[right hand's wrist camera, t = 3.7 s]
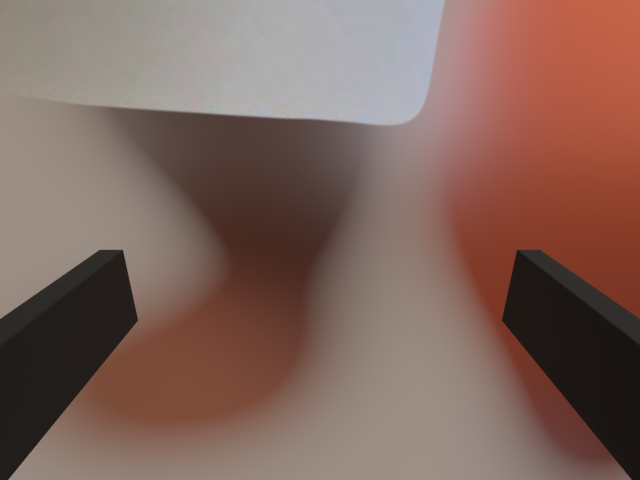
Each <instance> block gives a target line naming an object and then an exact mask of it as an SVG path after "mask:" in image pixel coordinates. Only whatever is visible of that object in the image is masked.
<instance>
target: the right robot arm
mask: <svg viewBox="0 0 640 480" xmlns="http://www.w3.org/2000/svg"><path fill="white" fill-rule="evenodd" d="M137 321H138V318H137V314H136V309H135V304H134V300H133V295H132V290H131V286H130V281H129V276H128V272H127V267H126V262H125V258H124V253H123V250H99V251H98V252H96V253H95V254H93V255H92V256H90V257H89V258H88V259H86V260H85V261H83V262H82V263H80V264H79V265H77V266H76V267H75V268H73V269H72V270H70V271H69V272H67V273H66V274H65V275H63V276H62V277H60V278H59V279H57V280H56V281H54V282H53V283H52V284H50V285H49V286H47V287H46V288H44V289H43V290H41V291H40V292H39V293H37V294H36V295H34V296H33V297H31V298H30V299H29V300H27V301H26V302H24V303H23V304H21V305H20V306H18V307H17V308H16V309H14V310H13V311H11V312H10V313H8V314H7V315H5V316H4V317H3V318H1V319H0V480H8V479H9V478H10V477H11V476H12V474H13V473H14V472H15V471H16V469H17V468H18V467H19V466H20V464H21V463H22V462H23V461H24V460H25V458H26V457H27V456H28V455H29V453H30V452H31V451H32V450H33V449H34V447H35V446H36V445H37V444H38V442H39V441H40V440H41V439H42V437H43V436H44V435H45V434H46V433H47V431H48V430H49V429H50V428H51V426H52V425H53V424H54V423H55V422H56V420H57V419H58V418H59V417H60V415H61V414H62V413H63V412H64V411H65V409H66V408H67V407H68V406H69V404H70V403H71V402H72V401H73V399H74V398H75V397H76V396H77V395H78V393H79V392H80V391H81V390H82V388H83V387H84V386H85V385H86V384H87V382H88V381H89V380H90V379H91V377H92V376H93V375H94V374H95V372H96V371H97V370H98V369H99V368H100V366H101V365H102V364H103V363H104V361H105V360H106V359H107V358H108V356H109V355H110V354H111V353H112V352H113V350H114V349H115V348H116V347H117V345H118V344H119V343H120V342H121V341H122V339H123V338H124V337H125V336H126V334H127V333H128V332H129V331H130V330H131V328H132V327H133V326H134V325H135V323H136V322H137ZM502 321H503V322H504V323H505V325H506V326H507V327H508V328H509V329H510V331H511V332H512V333H513V334H514V336H515V337H516V338H517V339H518V341H519V342H520V343H521V344H522V345H523V347H524V348H525V349H526V350H527V352H528V353H529V354H530V355H531V357H532V358H533V359H534V360H535V361H536V363H537V364H538V365H539V366H540V368H541V369H542V370H543V371H544V372H545V374H546V375H547V376H548V377H549V379H550V380H551V381H552V382H553V384H554V385H555V386H556V387H557V388H558V390H559V391H560V392H561V393H562V395H563V396H564V397H565V398H566V399H567V401H568V402H569V403H570V404H571V406H572V407H573V408H574V409H575V410H576V412H577V413H578V414H579V415H580V417H581V418H582V419H583V420H584V422H585V423H586V424H587V425H588V426H589V428H590V429H591V430H592V431H593V433H594V434H595V435H596V436H597V437H598V439H599V440H600V441H601V442H602V444H603V445H604V446H605V447H606V448H607V450H608V451H609V452H610V453H611V455H612V456H613V457H614V458H615V460H616V461H617V462H618V463H619V464H620V466H621V467H622V468H623V469H624V471H625V472H626V473H627V474H628V476H629V477H630V478H631V479H632V480H640V319H639V318H637V317H636V316H634V315H633V314H632V313H630V312H629V311H627V310H626V309H624V308H623V307H621V306H620V305H619V304H617V303H616V302H614V301H613V300H611V299H610V298H609V297H607V296H606V295H604V294H603V293H601V292H600V291H599V290H597V289H596V288H594V287H593V286H591V285H590V284H588V283H587V282H585V281H584V280H583V279H581V278H580V277H578V276H577V275H575V274H574V273H573V272H571V271H570V270H568V269H567V268H565V267H564V266H563V265H561V264H560V263H558V262H557V261H555V260H554V259H552V258H551V257H549V256H548V255H547V254H545V253H544V252H542V251H541V250H517V253H516V258H515V262H514V267H513V272H512V276H511V281H510V286H509V290H508V295H507V300H506V304H505V309H504V314H503V318H502Z"/></svg>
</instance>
